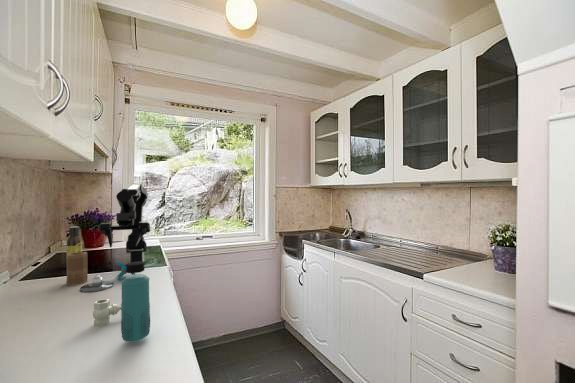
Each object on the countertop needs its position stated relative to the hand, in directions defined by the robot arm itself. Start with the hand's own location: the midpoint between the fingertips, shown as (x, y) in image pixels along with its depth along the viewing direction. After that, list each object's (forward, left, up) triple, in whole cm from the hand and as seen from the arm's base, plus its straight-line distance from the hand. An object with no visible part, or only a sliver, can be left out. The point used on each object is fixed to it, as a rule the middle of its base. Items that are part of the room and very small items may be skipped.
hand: (123, 246), depth 116 cm
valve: (+36, -13, -15) cm, 41 cm away
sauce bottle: (-44, -8, -15) cm, 48 cm away
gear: (-5, +3, -15) cm, 16 cm away
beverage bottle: (+53, -14, -15) cm, 56 cm away
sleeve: (-13, -13, -15) cm, 24 cm away
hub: (-1, -9, -15) cm, 17 cm away
